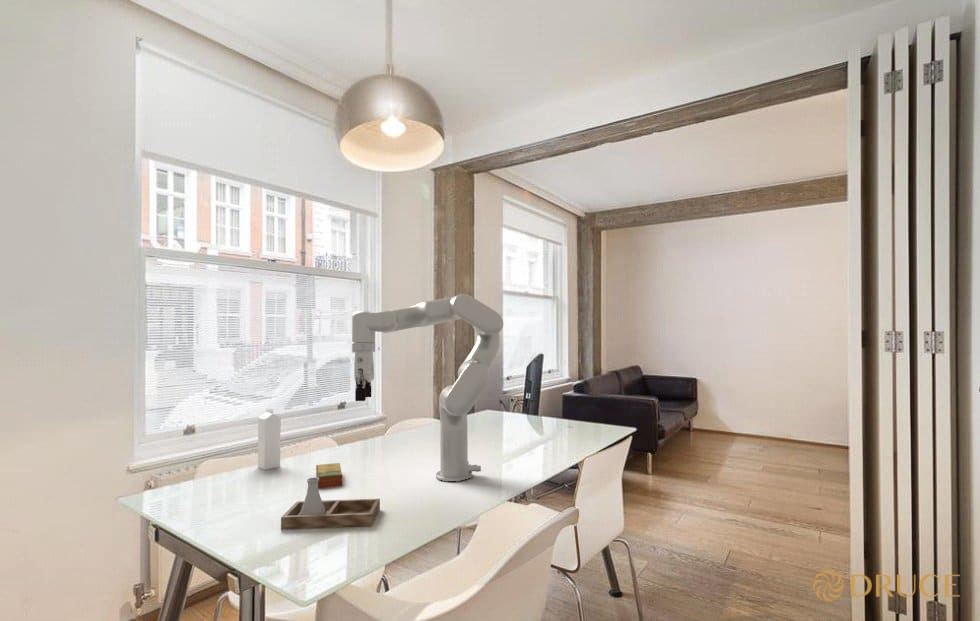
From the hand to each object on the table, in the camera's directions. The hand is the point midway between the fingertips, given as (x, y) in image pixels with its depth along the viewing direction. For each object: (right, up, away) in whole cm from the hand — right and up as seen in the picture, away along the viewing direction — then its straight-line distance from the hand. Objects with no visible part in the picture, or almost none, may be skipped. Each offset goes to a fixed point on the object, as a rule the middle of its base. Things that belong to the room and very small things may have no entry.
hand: (363, 399), depth 161 cm
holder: (0, -27, -32) cm, 41 cm away
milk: (-42, -30, +22) cm, 56 cm away
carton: (-13, -29, +4) cm, 32 cm away
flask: (-5, -26, -32) cm, 41 cm away
